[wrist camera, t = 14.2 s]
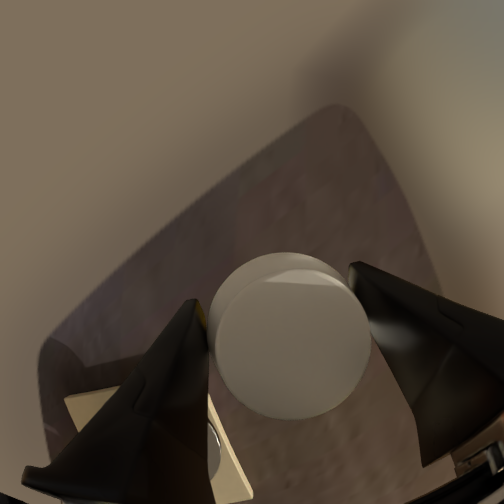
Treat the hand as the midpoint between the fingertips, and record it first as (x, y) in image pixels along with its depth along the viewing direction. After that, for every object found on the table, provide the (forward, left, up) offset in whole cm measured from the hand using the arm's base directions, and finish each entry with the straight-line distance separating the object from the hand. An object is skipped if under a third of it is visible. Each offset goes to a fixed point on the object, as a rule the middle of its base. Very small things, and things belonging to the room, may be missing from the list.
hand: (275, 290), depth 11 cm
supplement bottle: (-1, 0, -7) cm, 7 cm away
